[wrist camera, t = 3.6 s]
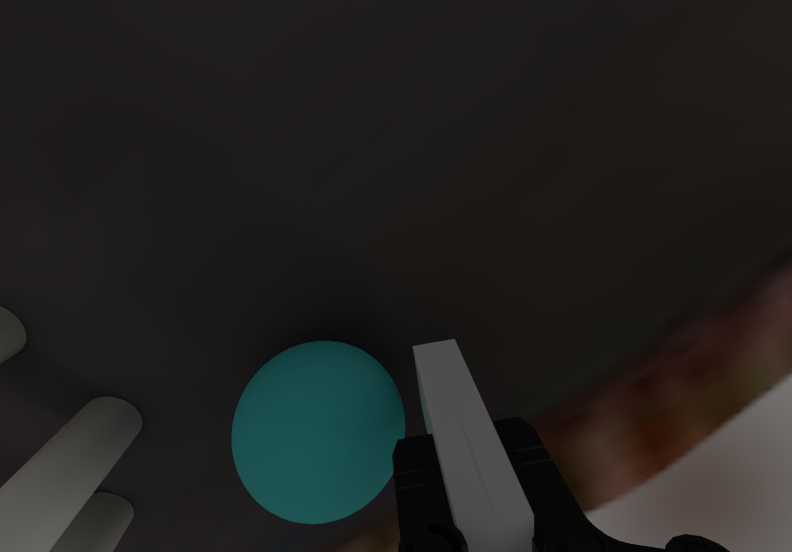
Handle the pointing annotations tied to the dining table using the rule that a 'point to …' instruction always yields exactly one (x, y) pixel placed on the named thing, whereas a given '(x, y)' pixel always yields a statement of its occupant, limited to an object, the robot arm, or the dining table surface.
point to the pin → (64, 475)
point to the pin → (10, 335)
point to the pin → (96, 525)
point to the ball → (317, 432)
